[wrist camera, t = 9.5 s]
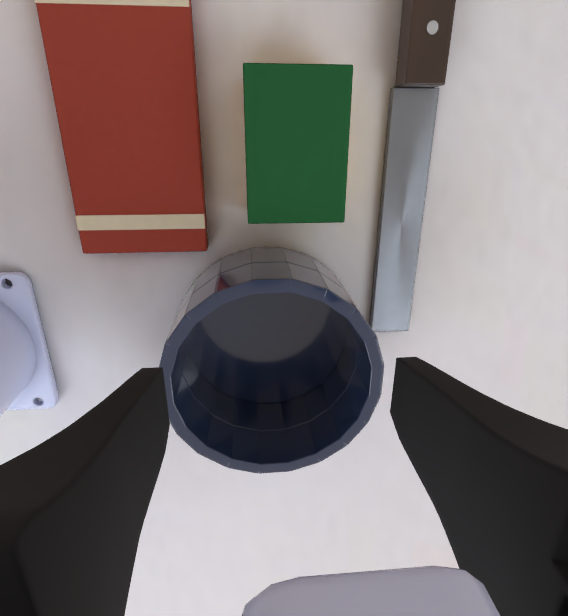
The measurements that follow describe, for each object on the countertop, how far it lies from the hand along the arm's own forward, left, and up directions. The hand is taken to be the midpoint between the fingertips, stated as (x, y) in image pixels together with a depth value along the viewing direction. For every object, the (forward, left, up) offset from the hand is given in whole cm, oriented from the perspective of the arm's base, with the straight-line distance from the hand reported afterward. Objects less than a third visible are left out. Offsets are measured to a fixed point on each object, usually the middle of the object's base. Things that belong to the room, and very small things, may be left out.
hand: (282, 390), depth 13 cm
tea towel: (-6, +8, -10) cm, 14 cm away
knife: (+7, +6, -10) cm, 14 cm away
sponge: (+1, +7, -10) cm, 12 cm away
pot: (0, -3, -10) cm, 11 cm away
